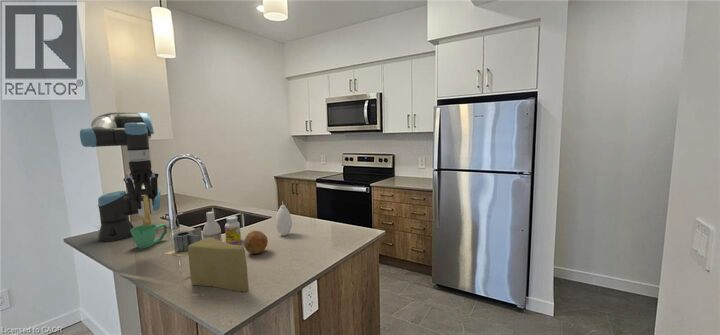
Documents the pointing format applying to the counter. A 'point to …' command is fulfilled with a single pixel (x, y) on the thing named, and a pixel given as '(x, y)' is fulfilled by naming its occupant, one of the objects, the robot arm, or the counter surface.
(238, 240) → the supplement bottle
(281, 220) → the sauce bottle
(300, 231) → the counter surface
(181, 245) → the grey piece
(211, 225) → the bath foam
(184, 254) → the mounting board
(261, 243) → the onion
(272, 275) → the counter surface
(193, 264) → the cheese
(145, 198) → the hinge pin
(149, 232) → the mug
